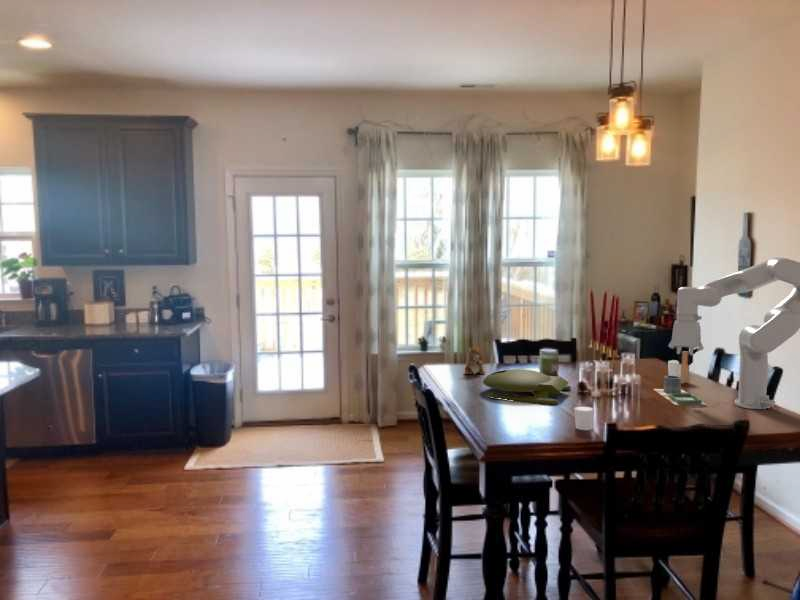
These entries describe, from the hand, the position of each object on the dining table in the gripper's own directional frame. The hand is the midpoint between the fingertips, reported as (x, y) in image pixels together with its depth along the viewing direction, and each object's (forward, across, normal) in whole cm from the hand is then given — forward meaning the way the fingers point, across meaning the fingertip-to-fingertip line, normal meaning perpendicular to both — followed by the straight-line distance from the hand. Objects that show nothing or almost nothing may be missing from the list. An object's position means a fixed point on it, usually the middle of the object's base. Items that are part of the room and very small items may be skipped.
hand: (685, 363), depth 253 cm
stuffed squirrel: (+17, +98, -10) cm, 100 cm away
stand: (+16, +3, -6) cm, 17 cm away
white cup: (+16, +8, -34) cm, 39 cm away
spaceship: (+17, +61, +16) cm, 66 cm away
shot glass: (+17, +24, +53) cm, 60 cm away
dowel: (+7, 0, 0) cm, 7 cm away
